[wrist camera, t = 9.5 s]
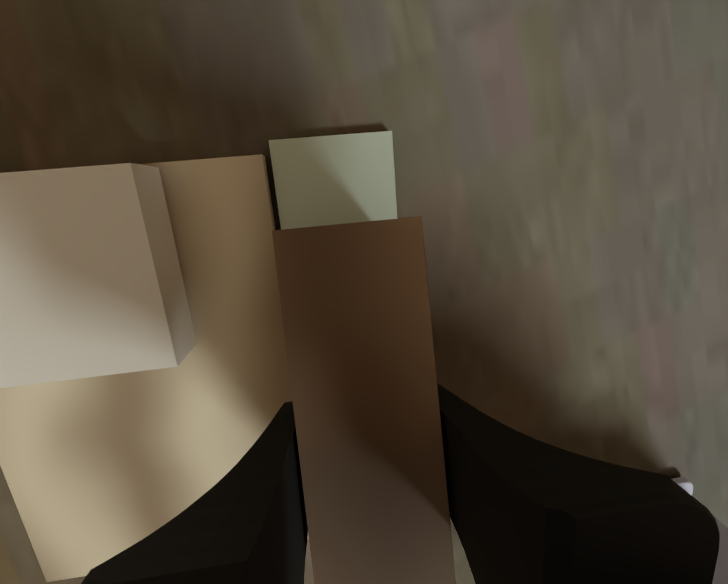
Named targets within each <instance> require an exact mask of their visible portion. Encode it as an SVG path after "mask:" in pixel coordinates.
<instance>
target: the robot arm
mask: <svg viewBox="0 0 728 584" xmlns="http://www.w3.org/2000/svg"><path fill="white" fill-rule="evenodd" d="M437 388H438V398H439V409H440V420H441V430H442V441H443V452H444V462H445V473H446V484H447V494H448V505H449V516H450V518H451V520H452V522H453V524H454V527H455V529H456V531H457V533H458V536H459V538H460V541H461V543H462V546H463V548H464V551H465V553H466V556H467V559H468V562H469V565H470V568H471V571H472V574H473V577H474V580H475V583H476V584H728V527H726V526H725V525H724V524H723V523H722V522H720V521H719V520H718V519H717V518H715V517H714V516H713V515H712V514H711V513H710V511H709V510H708V509H707V508H706V507H705V506H704V505H702V504H701V503H700V502H699V501H698V500H696V499H695V498H694V497H693V496H692V492H693V484H692V483H691V482H690V481H688V480H687V479H686V478H684V477H679V478H673V479H671V478H669V477H668V476H667V475H663V474H658V473H653V472H648V471H643V470H638V469H633V468H628V467H623V466H619V465H614V464H610V463H607V462H603V461H599V460H596V459H592V458H588V457H585V456H581V455H578V454H575V453H572V452H569V451H566V450H563V449H560V448H557V447H555V446H552V445H549V444H546V443H544V442H541V441H539V440H536V439H534V438H531V437H529V436H527V435H525V434H523V433H520V432H518V431H516V430H514V429H512V428H510V427H508V426H506V425H504V424H502V423H500V422H498V421H496V420H495V419H493V418H491V417H489V416H487V415H486V414H484V413H482V412H481V411H479V410H477V409H476V408H474V407H472V406H471V405H469V404H468V403H466V402H465V401H463V400H462V399H460V398H459V397H457V396H456V395H454V394H453V393H451V392H450V391H448V390H447V389H445V388H444V387H442V386H441V385H439V384H438V383H437ZM307 536H308V525H307V517H306V509H305V500H304V492H303V484H302V476H301V467H300V459H299V451H298V443H297V434H296V426H295V418H294V409H293V401H291V402H285V403H284V404H283V405H282V406H281V408H280V409H279V411H278V412H277V413H276V415H275V416H274V418H273V419H272V421H271V422H270V423H269V425H268V426H267V428H266V429H265V430H264V431H263V433H262V434H261V435H260V437H259V438H258V439H257V441H256V442H255V443H254V444H253V446H252V447H251V448H250V449H249V450H248V451H247V453H246V454H245V455H244V456H243V457H242V458H241V460H240V461H239V462H238V463H237V464H236V465H235V466H234V467H233V468H232V469H231V470H230V471H229V472H228V473H227V474H226V475H225V476H224V477H223V478H222V479H221V480H220V481H219V482H218V483H217V484H215V485H214V486H213V487H212V488H211V489H210V490H209V491H207V492H206V493H205V494H204V495H202V496H201V497H200V498H199V499H198V500H196V501H195V502H194V503H193V504H191V505H190V506H189V507H188V508H186V509H185V510H184V511H183V512H181V513H180V514H179V515H177V516H176V517H174V518H173V519H172V520H170V521H169V522H167V523H166V524H165V525H163V526H162V527H160V528H159V529H157V530H156V531H154V532H153V533H151V534H150V535H148V536H147V537H145V538H144V539H142V540H140V541H139V542H137V543H136V544H134V545H132V546H131V547H129V548H127V549H126V550H124V551H122V552H120V553H119V554H117V555H115V556H114V557H112V558H110V559H109V560H107V561H105V562H103V563H102V564H100V565H98V566H96V567H95V568H93V569H91V570H90V571H89V573H88V574H87V576H86V577H85V579H84V580H83V582H82V583H81V584H304V568H305V556H306V546H307Z"/></svg>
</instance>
